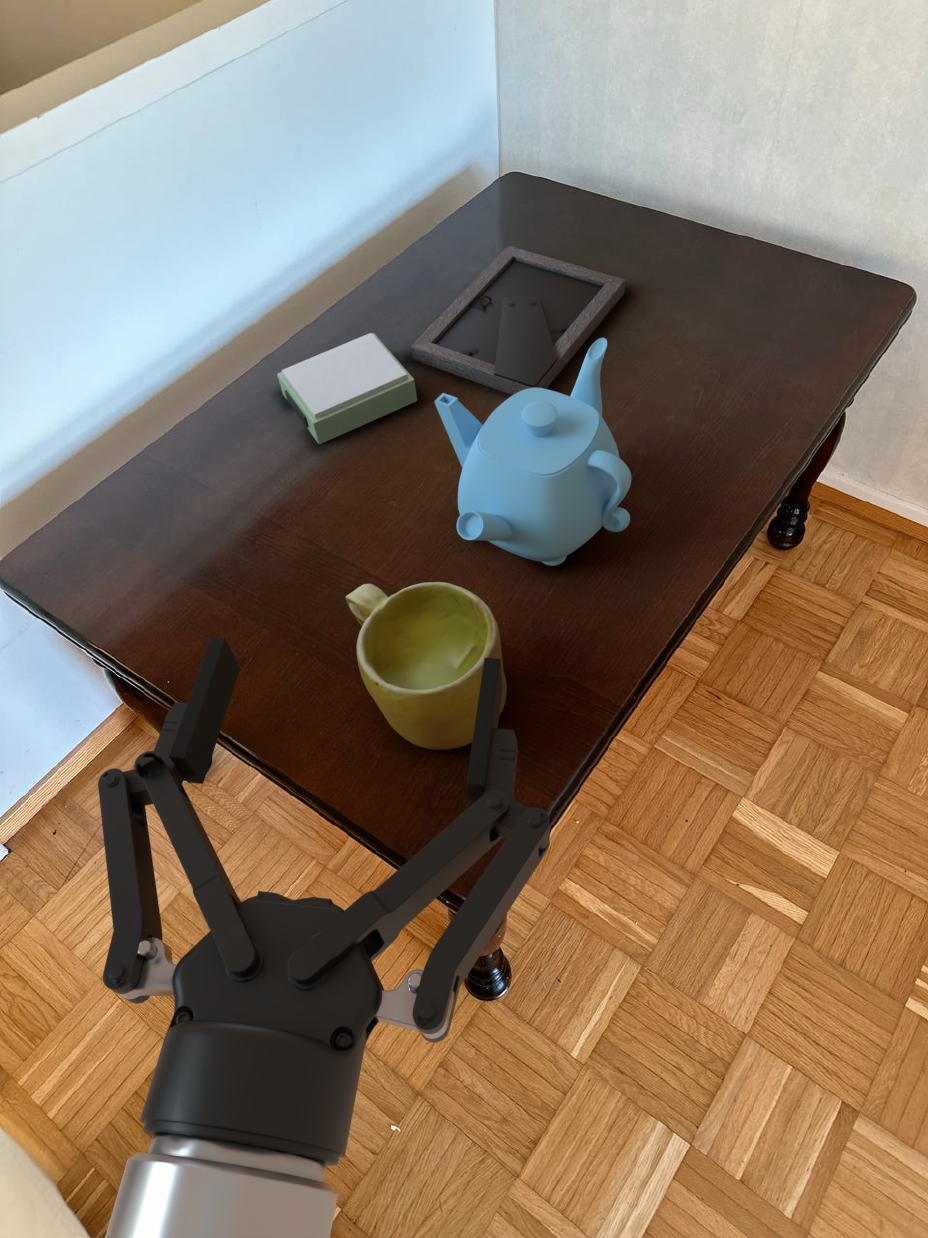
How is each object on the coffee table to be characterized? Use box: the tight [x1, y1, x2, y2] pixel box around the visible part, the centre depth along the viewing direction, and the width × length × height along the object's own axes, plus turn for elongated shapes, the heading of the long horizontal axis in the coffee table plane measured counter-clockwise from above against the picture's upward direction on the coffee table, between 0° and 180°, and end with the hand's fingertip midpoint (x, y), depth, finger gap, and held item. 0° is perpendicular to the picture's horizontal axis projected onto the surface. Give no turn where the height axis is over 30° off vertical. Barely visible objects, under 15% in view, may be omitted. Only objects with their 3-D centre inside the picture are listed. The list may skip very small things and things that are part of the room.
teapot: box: [433, 337, 632, 567], centre depth 69 cm, size 15×14×11 cm
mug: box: [345, 581, 508, 751], centre depth 62 cm, size 12×10×10 cm
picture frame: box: [410, 245, 626, 396], centre depth 87 cm, size 13×2×18 cm
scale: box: [276, 332, 418, 445], centre depth 82 cm, size 10×8×3 cm
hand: (357, 662), depth 45 cm, fingers open, 13 cm apart
